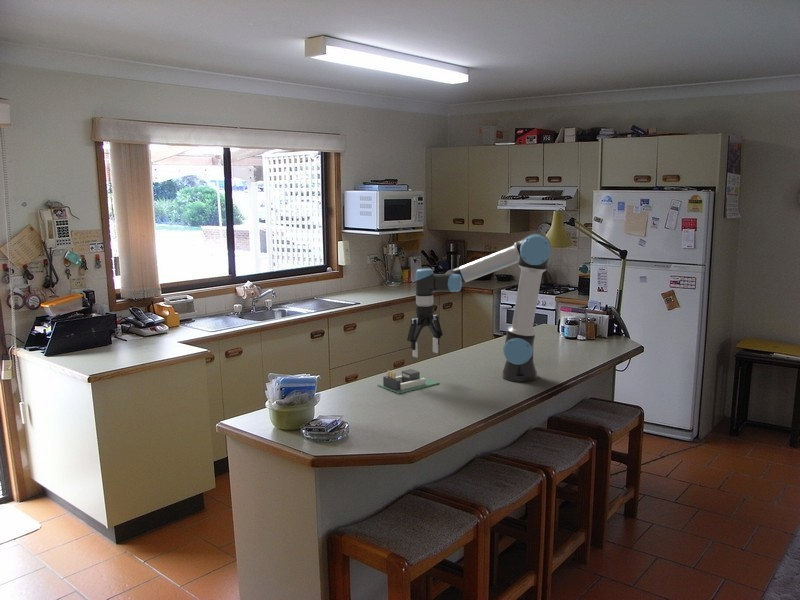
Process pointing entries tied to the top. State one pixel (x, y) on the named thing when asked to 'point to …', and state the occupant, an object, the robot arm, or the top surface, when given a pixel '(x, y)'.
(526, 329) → the robot arm
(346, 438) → the top surface
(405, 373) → the plug
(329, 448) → the top surface
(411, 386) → the header board
